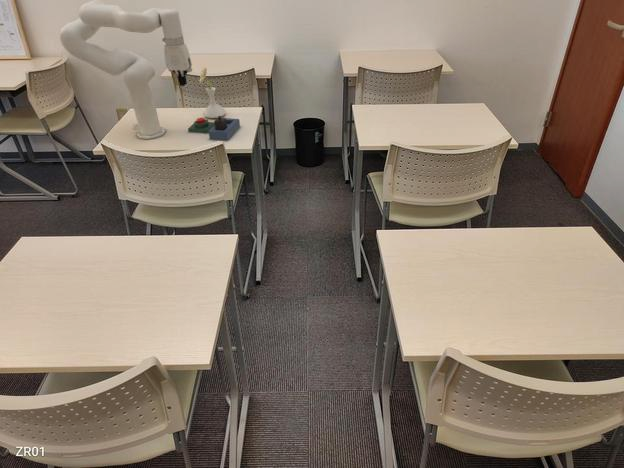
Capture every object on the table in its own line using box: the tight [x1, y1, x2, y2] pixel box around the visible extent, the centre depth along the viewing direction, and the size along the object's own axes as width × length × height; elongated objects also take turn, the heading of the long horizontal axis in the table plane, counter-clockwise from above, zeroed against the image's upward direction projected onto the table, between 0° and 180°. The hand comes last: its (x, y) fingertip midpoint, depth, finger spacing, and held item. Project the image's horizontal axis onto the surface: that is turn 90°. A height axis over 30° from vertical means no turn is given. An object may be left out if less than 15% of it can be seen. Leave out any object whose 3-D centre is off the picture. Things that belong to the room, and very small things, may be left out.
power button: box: [196, 117, 206, 124], centre depth 227 cm, size 4×4×2 cm
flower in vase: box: [198, 67, 227, 119], centre depth 234 cm, size 13×11×25 cm
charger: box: [213, 116, 227, 130], centre depth 219 cm, size 4×4×10 cm
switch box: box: [187, 118, 215, 134], centre depth 228 cm, size 10×9×4 cm
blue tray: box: [208, 117, 241, 142], centre depth 223 cm, size 9×16×4 cm, turn 166°
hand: (183, 84), depth 212 cm, fingers closed
